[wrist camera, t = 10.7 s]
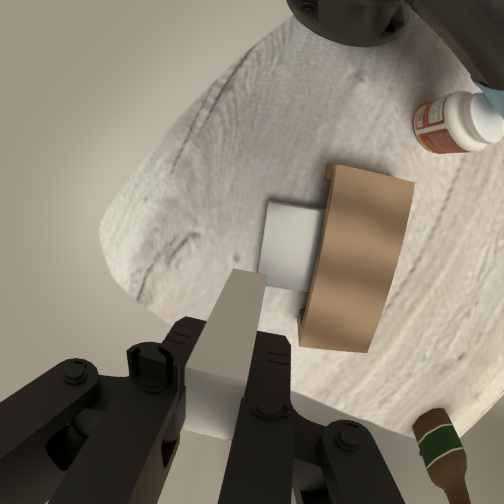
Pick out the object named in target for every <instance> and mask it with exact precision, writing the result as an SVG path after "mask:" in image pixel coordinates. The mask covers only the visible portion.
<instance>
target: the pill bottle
mask: <svg viewBox="0 0 504 504" xmlns="http://www.w3.org/2000/svg"><path fill="white" fill-rule="evenodd" d="M414 130H415V133H416V136H417V138H418V140H419V141H420V142H421V144H422V145H423V146H424V147H425V148H426V149H427V150H429V151H431V152H433V153H437V154H446V153H462V152H477V151H481V150H483V149H484V148H485V147H486V146H487V145H488V144H491V143H496V142H498V141H500V140H501V138H502V136H503V134H504V119H503V118H502V117H501V116H500V115H499V114H498V113H497V112H496V110H495V109H494V107H493V106H492V104H491V103H490V101H489V100H488V98H487V97H486V96H485V94H484V93H476V94H472V93H470V92H467V91H457V92H454V93H452V94H449V95H447V96H444V97H442V98H439V99H437V100H434V101H432V102H430V103H427V104H425V105H423V106H421V107H420V108H419V109H418V110H417V112H416V114H415V117H414Z"/></svg>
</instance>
